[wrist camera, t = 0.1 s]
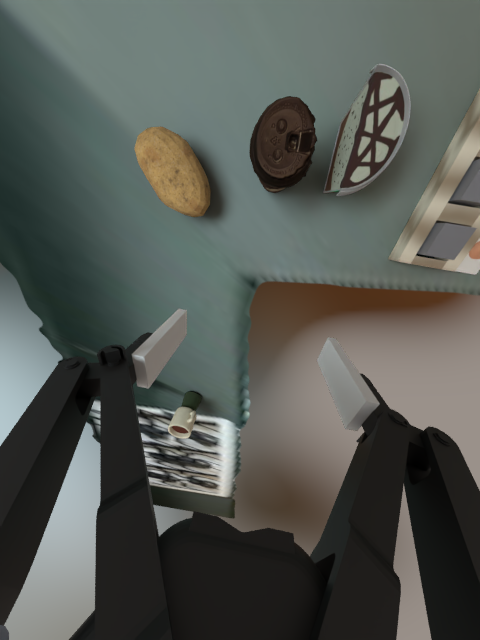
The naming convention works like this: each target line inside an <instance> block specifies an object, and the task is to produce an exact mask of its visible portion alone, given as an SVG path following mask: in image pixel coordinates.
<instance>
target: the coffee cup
mask: <svg viewBox="0 0 480 640" xmlns="http://www.w3.org/2000/svg"><path fill="white" fill-rule="evenodd" d="M314 122H315V117H314V115H313V114H312V113H311V111H310V110H309V108H308V106H307V105H306V104H305V103H304V102H303V101H302V100H301V99H300V98H298V97H291V96H289V97H284V98H281V99H278V100H276V101H275V102H274V103H272V104H271V105H269V106H268V107H267V108H266V110H265V111H264V112H263V113H262V115H261V116H260V118H259V120H258V122H257V124H256V125H255V128H254V131H253V134H252V137H251V141H250V159H251V162H252V165H253V169H254V172H255V173H256V174H257V176H258V177H259V180H260V182H261V183H262V185H263V187H264V188H265V189H266V190H267V191H269V192H273V193H276V192H279V191H281V190H283V189H285V188H287V187H291V186H293V185H295V184H296V183H298V182H299V181H300V180H301V179H302V178H303V177H305V176H306V172H307V171H308V169H309V167H310V164H312V161H311V156H312V154H313V152H314V150H315V146H314V145H315V143H316V141H317V137H316V135H315V128H314Z"/></svg>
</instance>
